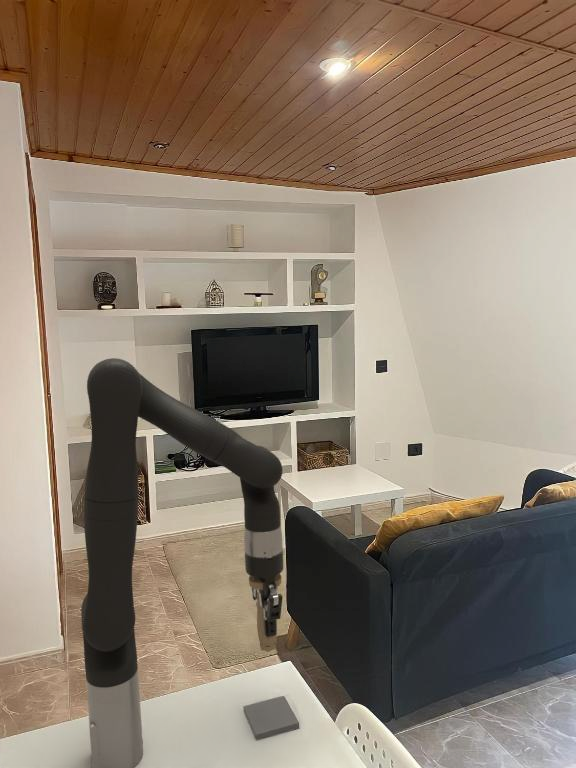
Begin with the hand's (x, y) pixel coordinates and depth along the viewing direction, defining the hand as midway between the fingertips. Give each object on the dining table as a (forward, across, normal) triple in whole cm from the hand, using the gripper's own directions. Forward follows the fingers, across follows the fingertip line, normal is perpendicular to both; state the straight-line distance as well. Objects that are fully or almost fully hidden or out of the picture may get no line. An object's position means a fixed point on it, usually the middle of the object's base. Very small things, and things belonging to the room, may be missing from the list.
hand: (267, 629), depth 118 cm
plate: (+19, 0, 0) cm, 19 cm away
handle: (+4, 0, 0) cm, 4 cm away
